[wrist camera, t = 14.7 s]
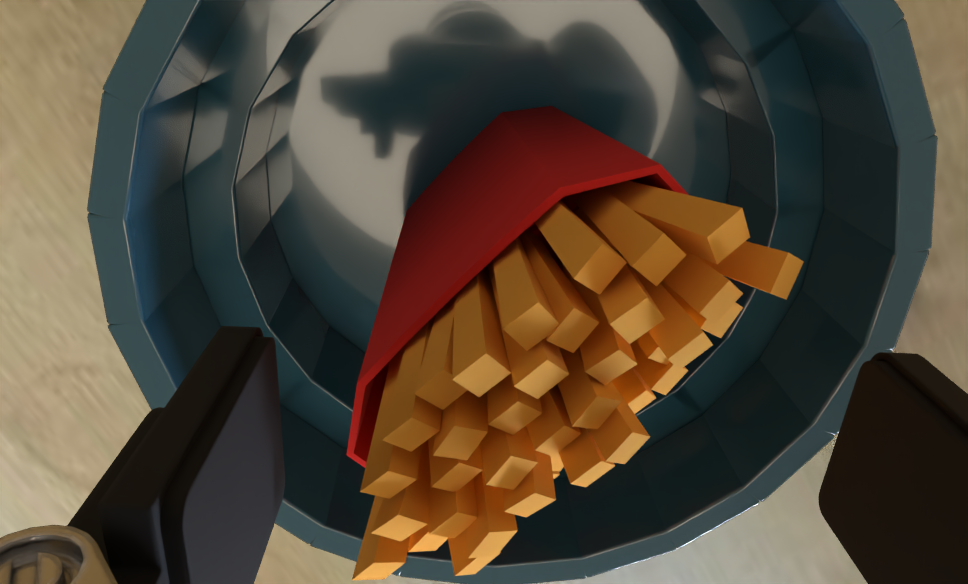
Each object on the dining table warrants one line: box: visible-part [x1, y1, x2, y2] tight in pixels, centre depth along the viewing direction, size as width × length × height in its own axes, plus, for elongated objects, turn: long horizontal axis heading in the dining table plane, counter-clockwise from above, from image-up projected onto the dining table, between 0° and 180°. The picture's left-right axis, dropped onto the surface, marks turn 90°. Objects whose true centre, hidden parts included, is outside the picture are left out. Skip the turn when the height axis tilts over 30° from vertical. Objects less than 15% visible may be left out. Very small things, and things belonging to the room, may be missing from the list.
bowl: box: [87, 0, 937, 584], centre depth 18 cm, size 18×18×7 cm
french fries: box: [347, 106, 804, 580], centre depth 15 cm, size 8×4×12 cm, turn 136°
